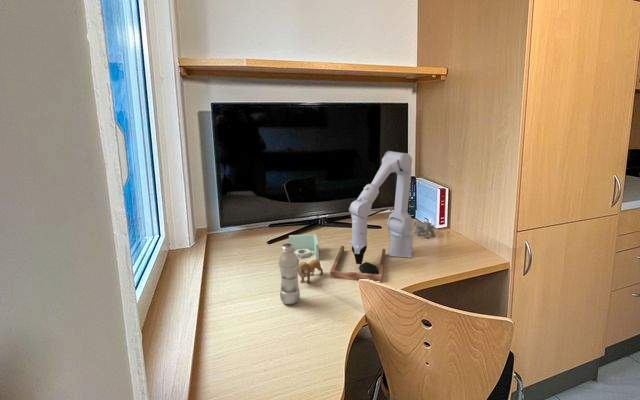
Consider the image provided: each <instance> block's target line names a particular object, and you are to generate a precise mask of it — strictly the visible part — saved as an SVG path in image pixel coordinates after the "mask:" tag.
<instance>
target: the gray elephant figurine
mask: <svg viewBox="0 0 640 400" xmlns="http://www.w3.org/2000/svg"><path fill="white" fill-rule="evenodd" d="M413 227H414V228H415V229H414V230H415V231H414V234H415V235H417V236H418V237H419V236H420V235H421V234H424V238H425V239H430V235H429V233H430V234H431V236H432V237H436V232H435V230H434V228H435V225H434V224H432V223H431V222H428V221H415V222H414V223H413Z"/></svg>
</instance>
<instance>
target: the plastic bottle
mask: <svg viewBox="0 0 640 400" xmlns="http://www.w3.org/2000/svg"><path fill="white" fill-rule="evenodd" d="M281 247H282V249H281V252H282V253H281V255H280V257H279V258H278V267H279V270H280V280H281V281H280V282H281V283H280V291H279V297H280V301H281V302H282V304H285V305H295V304H297V303H298V302H299V300H300V298H301V292H300V288H299V287H300V286H299V280H298V279H299V274H298V266H299V264H300V258H298V257H297V255H296V254H295V251H294V245H293V244H291V243H289V242H287V243H286V242H285V243H283V244H282V246H281Z"/></svg>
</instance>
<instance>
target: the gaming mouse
mask: <svg viewBox="0 0 640 400" xmlns="http://www.w3.org/2000/svg"><path fill="white" fill-rule="evenodd" d="M358 269H359V273H367V274H379V269H378V267H377V266H376V265H375V264H373V263H371V262H367V261H365V262H362V264H359V267H358Z"/></svg>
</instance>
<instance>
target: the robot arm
mask: <svg viewBox="0 0 640 400" xmlns="http://www.w3.org/2000/svg"><path fill="white" fill-rule="evenodd" d="M412 165H413V157H411V155H410V154H409V153H407V152H399V151H392V150H387V151H386V152H385V153H384V155H383V157H382V159H381V165H380V167H379V169H378V170H377V172H376V174H375V176H374V178H373V180H372V181H371V183H367V184H366V185H365V186H364V187H363V190H362V191H361V192H360V194H359V195H358V197H357V199H355V200H354V201H352V202H351V203H350V206H349V207H348V211H349V213H350V217H351V239H350V240H349V241H348V244H350V245H352V246H351V252H352V253H353V256H354V259H355V260H354V261H355V264H356V265H361V264H362V263H363V260H364V255H365V253H366V251H367V247H368V216H369V215H370V214H371V212H372V206H373V203H374V201H375V200H376V198H377V197H378V196H379V194H380V187H381V186H382V185H383V183H384V182H385V181H386V179H387V178H388V177H389V175H390V174H392V173H395V174H396V175H397V176H396V177H397V178H396V185H395V186H396V187H395V199H394V207H393V208H394V210H393V211H392V212H391V213H390V214H389V216H388V220H387V222H386V228H387V229H388V231H389V233H390V247H389V248H388V257H396V258H406V259H407V258H409V259H410V258H413V252H414V247H413V245H414V244H413V242H414V241H413V240H414V239H413V238H414V237H413V236H414V235H413V234H411V233H412V232H413V227H414V224H413V218H412V216H411V215H410V214H409V213H408V210H409V209H408V208H409V200H410V191H411V190H410V189H411V182H412V181H411V180H412V179H411V178H412V172H413V170H412V167H413V166H412Z"/></svg>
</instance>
